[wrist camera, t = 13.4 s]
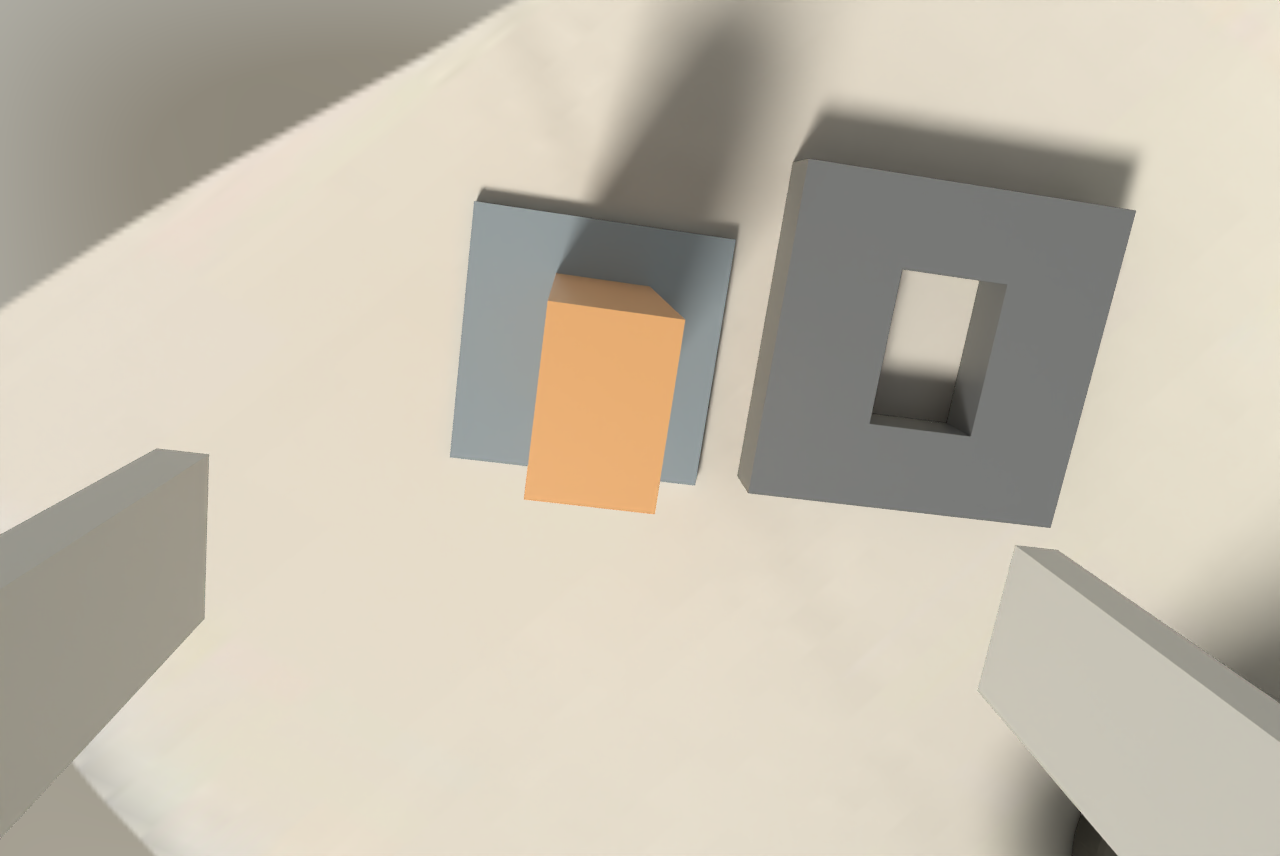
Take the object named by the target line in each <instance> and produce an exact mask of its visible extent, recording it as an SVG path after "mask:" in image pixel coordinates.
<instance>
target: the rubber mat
mask: <svg viewBox="0 0 1280 856" xmlns="http://www.w3.org/2000/svg"><path fill="white" fill-rule="evenodd" d="M735 241H736V240H735V239H728V238H721V237H714V236H708V235H701V234H694V233H687V232H681V231H674V230H667V229H660V228H653V227H647V226H640V225H633V224H626V223H619V222H613V221H606V220H599V219H592V218H586V217H579V216H572V215H565V214H558V213H552V212H545V211H538V210H531V209H524V208H518V207H511V206H504V205H497V204H491V203H484V202H477V201H474V209H473V220H472V231H471V241H470V252H469V262H468V273H467V283H466V294H465V304H464V315H463V325H462V336H461V346H460V357H459V368H458V378H457V389H456V399H455V410H454V420H453V431H452V441H451V452H450V457H452V458H461V459H470V460H479V461H487V462H496V463H505V464H513V465H522V466H528V461H529V452H530V444H531V436H532V427H533V419H534V411H535V402H536V394H537V385H538V377H539V369H540V360H541V352H542V344H543V335H544V327H545V319H546V310H547V302H548V298H549V295H550V291H551V288H552V285H553V282H554V278H555V275H556V273H559V274H566V275H573V276H580V277H587V278H594V279H601V280H608V281H615V282H622V283H630V284H637V285H644V286H650V287H651V288H652V289H653V290H654V291H655V292H656V293H657V294H658V295H659V296H660V297H662V298H663V299H664V300H665V301H666V302H667V303H668V304H669V305H670V306H671V307H672V308H673V309H674V310H675V311H676V312H678V313H679V314H680V315H681V316H682V317H683V318H684V319H685V325H684V332H683V338H682V344H681V351H680V357H679V363H678V370H677V376H676V382H675V389H674V395H673V401H672V408H671V414H670V420H669V427H668V433H667V439H666V446H665V452H664V458H663V465H662V471H661V477H660V481H661V482H670V483H678V484H687V485H695V483H696V477H697V471H698V465H699V459H700V453H701V447H702V441H703V435H704V428H705V422H706V416H707V410H708V404H709V398H710V392H711V386H712V380H713V374H714V368H715V362H716V356H717V350H718V344H719V338H720V332H721V326H722V320H723V314H724V308H725V302H726V296H727V290H728V283H729V277H730V271H731V265H732V259H733V253H734V247H735Z"/></svg>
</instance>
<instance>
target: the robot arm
mask: <svg viewBox="0 0 1280 856" xmlns="http://www.w3.org/2000/svg"><path fill="white" fill-rule="evenodd" d="M208 471H209V454H201V453H192V452H183V451H174V450H165V449H155V450H153V451H151V452H149V453H148V454H146V455H144V456H142V457H140V458H139V459H137V460H135V461H133V462H131V463H129V464H128V465H126V466H124V467H122V468H120V469H119V470H117V471H115V472H113V473H111V474H109V475H108V476H106V477H104V478H102V479H100V480H99V481H97V482H95V483H93V484H91V485H90V486H88V487H86V488H84V489H82V490H80V491H79V492H77V493H75V494H73V495H71V496H70V497H68V498H66V499H64V500H62V501H61V502H59V503H57V504H55V505H53V506H51V507H50V508H48V509H46V510H44V511H42V512H41V513H39V514H37V515H35V516H33V517H31V518H30V519H28V520H26V521H24V522H22V523H21V524H19V525H17V526H15V527H13V528H12V529H10V530H8V531H6V532H4V533H2V534H1V535H0V839H1V838H2V837H3V836H4V835H5V833H7V832H8V830H9V829H10V828H11V827H12V826H13V825H14V824H15V823H16V822H17V821H18V819H19V818H20V817H21V816H22V815H23V814H24V813H25V812H26V811H27V810H28V809H29V808H30V807H31V806H32V804H33V803H34V802H35V801H36V800H37V799H38V798H39V797H40V796H41V795H42V794H43V793H44V792H45V790H46V789H47V788H48V787H49V786H50V785H51V784H52V783H53V782H54V781H55V780H56V779H57V777H58V776H59V775H60V774H61V773H62V772H63V771H64V770H65V769H66V768H67V767H68V766H69V764H70V763H71V762H72V761H73V760H74V759H75V758H76V757H77V756H78V755H79V754H80V753H81V752H82V750H83V749H84V748H85V747H86V746H87V745H88V744H89V743H90V742H91V741H92V740H93V739H94V737H95V736H96V735H97V734H98V733H99V732H100V731H101V730H102V729H103V728H104V727H105V726H106V724H107V723H108V722H109V721H110V720H111V719H112V718H113V717H114V716H115V715H116V714H117V713H118V712H119V710H120V709H121V708H122V707H123V706H124V705H125V704H126V703H127V702H128V701H129V700H130V699H131V697H132V696H133V695H134V694H135V693H136V692H137V691H138V690H139V689H140V688H141V687H142V686H143V684H144V683H145V682H146V681H147V680H148V679H149V678H150V677H151V676H152V675H153V674H154V673H155V672H156V670H157V669H158V668H159V667H160V666H161V665H162V664H163V663H164V662H165V661H166V660H167V659H168V657H169V656H170V655H171V654H172V653H173V652H174V651H175V650H176V649H177V648H178V647H179V646H180V644H181V643H182V642H183V641H184V640H185V639H186V638H187V637H188V636H189V635H190V634H191V633H192V632H193V630H194V629H195V628H196V627H197V626H198V625H199V624H200V623H201V622H202V621H203V620H204V615H205V579H206V543H207V507H208ZM977 691H978V692H979V693H980V694H981V695H982V697H983V698H984V699H985V700H986V701H987V703H988V704H989V705H990V706H991V707H992V708H993V710H994V711H995V712H996V713H997V714H998V715H999V717H1000V718H1001V719H1002V720H1003V721H1004V723H1005V724H1006V725H1007V726H1008V727H1009V728H1010V730H1011V731H1012V732H1013V733H1014V734H1015V735H1016V737H1017V738H1018V739H1019V740H1020V741H1021V743H1022V744H1023V745H1024V746H1025V747H1026V748H1027V750H1028V751H1029V752H1030V753H1031V754H1032V755H1033V757H1034V758H1035V759H1036V760H1037V761H1038V763H1039V764H1040V765H1041V766H1042V767H1043V768H1044V770H1045V771H1046V772H1047V773H1048V774H1049V775H1050V777H1051V778H1052V779H1053V780H1054V781H1055V783H1056V784H1057V785H1058V786H1059V787H1060V788H1061V790H1062V791H1063V792H1064V793H1065V794H1066V795H1067V797H1068V798H1069V799H1070V800H1071V801H1072V803H1073V804H1074V805H1075V806H1076V807H1077V808H1078V810H1079V811H1080V812H1081V813H1082V815H1081V817H1080V820H1079V823H1078V826H1077V829H1076V833H1075V837H1074V843H1073V852H1072V856H1280V703H1279V702H1277V701H1276V700H1274V699H1273V698H1271V697H1270V696H1269V695H1267V694H1266V693H1264V692H1263V691H1261V690H1260V689H1258V688H1257V687H1255V686H1254V685H1253V684H1251V683H1250V682H1248V681H1247V680H1245V679H1244V678H1242V677H1241V676H1240V675H1238V674H1237V673H1235V672H1234V671H1232V670H1231V669H1229V668H1228V667H1226V666H1225V665H1224V664H1222V663H1221V662H1219V661H1218V660H1216V659H1215V658H1213V657H1212V656H1211V655H1209V654H1208V653H1206V652H1205V651H1203V650H1202V649H1200V648H1199V647H1197V646H1196V645H1195V644H1193V643H1192V642H1190V641H1189V640H1187V639H1186V638H1184V637H1183V636H1181V635H1180V634H1179V633H1177V632H1176V631H1174V630H1173V629H1171V628H1170V627H1168V626H1167V625H1166V624H1164V623H1163V622H1161V621H1160V620H1158V619H1157V618H1155V617H1154V616H1152V615H1151V614H1150V613H1148V612H1147V611H1145V610H1144V609H1142V608H1141V607H1139V606H1138V605H1137V604H1135V603H1134V602H1132V601H1131V600H1129V599H1128V598H1126V597H1125V596H1123V595H1122V594H1121V593H1119V592H1118V591H1116V590H1115V589H1113V588H1112V587H1110V586H1109V585H1107V584H1106V583H1105V582H1103V581H1102V580H1100V579H1099V578H1097V577H1096V576H1094V575H1093V574H1092V573H1090V572H1089V571H1087V570H1086V569H1084V568H1083V567H1081V566H1080V565H1078V564H1077V563H1076V562H1074V561H1073V560H1071V559H1070V558H1068V557H1067V556H1065V555H1064V554H1063V553H1061V552H1060V551H1058V550H1053V549H1044V548H1035V547H1026V546H1017V545H1015V548H1014V552H1013V556H1012V559H1011V563H1010V567H1009V571H1008V575H1007V579H1006V583H1005V586H1004V590H1003V594H1002V598H1001V602H1000V606H999V609H998V613H997V617H996V621H995V625H994V629H993V633H992V636H991V640H990V644H989V648H988V652H987V656H986V660H985V663H984V667H983V671H982V675H981V679H980V683H979V686H978V690H977Z"/></svg>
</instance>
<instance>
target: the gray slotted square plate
mask: <svg viewBox="0 0 1280 856" xmlns="http://www.w3.org/2000/svg"><path fill="white" fill-rule="evenodd" d="M1135 213H1136V211H1135V210H1129V209H1123V208H1116V207H1110V206H1104V205H1097V204H1091V203H1085V202H1079V201H1072V200H1066V199H1060V198H1053V197H1047V196H1041V195H1035V194H1028V193H1022V192H1016V191H1010V190H1003V189H997V188H991V187H984V186H978V185H972V184H966V183H959V182H953V181H947V180H940V179H934V178H928V177H922V176H915V175H909V174H903V173H897V172H890V171H884V170H878V169H871V168H865V167H859V166H853V165H846V164H840V163H834V162H827V161H821V160H815V159H805V160H801V161H796V162H793V165H792V171H791V176H790V182H789V188H788V193H787V199H786V205H785V210H784V216H783V222H782V227H781V233H780V239H779V244H778V250H777V256H776V261H775V267H774V272H773V278H772V284H771V289H770V295H769V301H768V306H767V312H766V318H765V323H764V329H763V335H762V340H761V346H760V351H759V357H758V363H757V368H756V374H755V380H754V385H753V391H752V397H751V402H750V408H749V414H748V419H747V425H746V431H745V436H744V442H743V447H742V453H741V459H740V464H739V470H738V478H739V479H740V481H741V483H742V484H743V486H744V487H745V489H746V490H747V492H748V493H751V494H760V495H769V496H777V497H786V498H795V499H803V500H812V501H821V502H829V503H838V504H847V505H856V506H864V507H873V508H882V509H890V510H899V511H908V512H917V513H925V514H934V515H943V516H951V517H960V518H969V519H977V520H986V521H995V522H1004V523H1012V524H1021V525H1030V526H1038V527H1047V528H1051V524H1052V520H1053V517H1054V513H1055V509H1056V505H1057V502H1058V498H1059V494H1060V491H1061V487H1062V483H1063V480H1064V476H1065V472H1066V468H1067V465H1068V461H1069V457H1070V454H1071V450H1072V446H1073V443H1074V439H1075V435H1076V431H1077V428H1078V424H1079V420H1080V417H1081V413H1082V409H1083V405H1084V402H1085V398H1086V394H1087V391H1088V387H1089V383H1090V380H1091V376H1092V372H1093V368H1094V365H1095V361H1096V357H1097V354H1098V350H1099V346H1100V343H1101V339H1102V335H1103V331H1104V328H1105V324H1106V320H1107V317H1108V313H1109V309H1110V306H1111V302H1112V298H1113V294H1114V291H1115V287H1116V283H1117V280H1118V276H1119V272H1120V268H1121V265H1122V261H1123V257H1124V254H1125V250H1126V246H1127V243H1128V239H1129V235H1130V231H1131V228H1132V224H1133V220H1134V217H1135ZM902 269H904V270H911V271H918V272H924V273H931V274H938V275H945V276H952V277H958V278H965V279H972V280H979V286H978V290H977V294H976V299H975V303H974V307H973V312H972V316H971V320H970V324H969V329H968V333H967V337H966V342H965V346H964V350H963V354H962V359H961V363H960V367H959V372H958V376H957V380H956V384H955V389H954V393H953V397H952V402H951V406H950V410H949V415H948V419H947V423H942V422H934V421H926V420H918V419H911V418H903V417H895V416H887V415H879V414H872V410H873V405H874V400H875V396H876V391H877V386H878V382H879V377H880V372H881V367H882V363H883V358H884V353H885V348H886V344H887V339H888V334H889V330H890V325H891V320H892V315H893V311H894V306H895V301H896V296H897V292H898V287H899V282H900V278H901V273H902Z"/></svg>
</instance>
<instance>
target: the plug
mask: <svg viewBox="0 0 1280 856" xmlns="http://www.w3.org/2000/svg"><path fill="white" fill-rule="evenodd" d="M684 325H685V319H684V318H683V317H682V316H681V315H680V314H679V313H678V312H676V311H675V310H674V309H673V308H672V307H671V306H670V305H669V304H668V303H667V302H666V301H665V300H664V299H663V298H662V297H660V296H659V295H658V294H657V293H656V292H655V291H654V290H653V289H652V288H651V287H650V286H644V285H637V284H630V283H622V282H615V281H608V280H601V279H594V278H587V277H580V276H573V275H566V274H559V273H556V275H555V278H554V282H553V285H552V288H551V291H550V295H549V298H548V302H547V310H546V319H545V327H544V335H543V344H542V352H541V360H540V369H539V377H538V385H537V394H536V402H535V411H534V419H533V427H532V436H531V444H530V452H529V461H528V469H527V477H526V486H525V494H524V499H525V500H533V501H542V502H551V503H560V504H569V505H578V506H587V507H595V508H604V509H613V510H622V511H631V512H640V513H648V514H655V509H656V503H657V497H658V490H659V484H660V477H661V471H662V465H663V458H664V452H665V446H666V439H667V433H668V427H669V420H670V414H671V408H672V401H673V395H674V389H675V382H676V376H677V370H678V363H679V357H680V351H681V344H682V338H683V332H684Z"/></svg>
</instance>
